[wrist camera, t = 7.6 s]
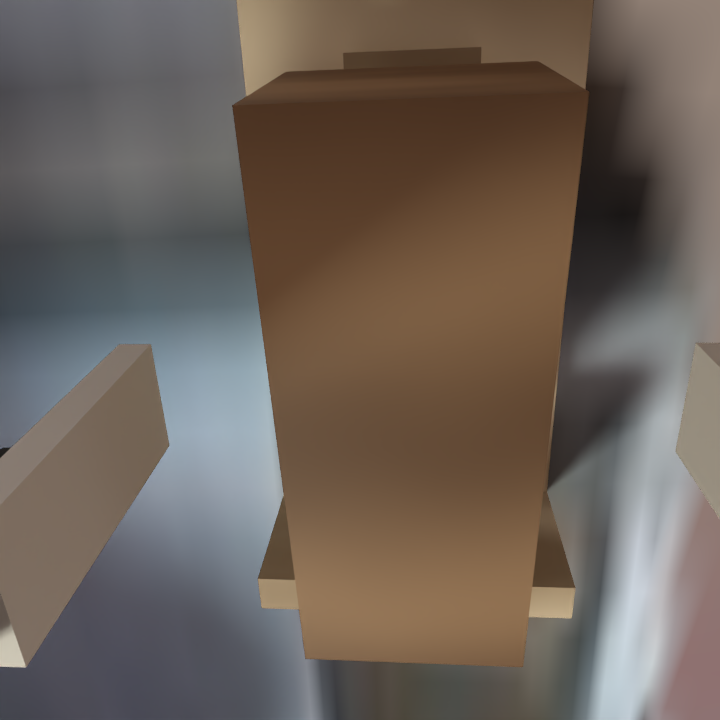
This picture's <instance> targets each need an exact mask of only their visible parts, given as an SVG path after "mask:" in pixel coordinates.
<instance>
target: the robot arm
mask: <svg viewBox="0 0 720 720" xmlns="http://www.w3.org/2000/svg"><path fill="white" fill-rule="evenodd" d="M168 447H169V441H168V435H167V430H166V424H165V419H164V414H163V408H162V403H161V397H160V392H159V386H158V381H157V376H156V370H155V365H154V359H153V354H152V348H151V344H119V345H118V346H117V347H116V348H115V349H114V350H113V351H112V352H111V353H110V354H109V355H108V356H106V357H105V358H104V359H103V360H102V361H101V362H100V363H99V364H98V365H97V366H96V367H95V368H94V369H93V370H92V371H91V372H90V373H89V374H88V375H87V376H86V377H85V378H83V379H82V380H81V381H80V382H79V383H78V384H77V385H76V386H75V387H74V388H73V389H72V390H71V391H70V392H69V393H68V394H67V395H66V396H65V397H64V398H63V399H61V400H60V401H59V402H58V403H57V404H56V405H55V406H54V407H53V408H52V409H51V410H50V411H49V412H48V413H47V414H46V415H45V416H44V417H43V418H42V419H41V420H40V421H38V422H37V423H36V424H35V425H34V426H33V427H32V428H31V429H30V430H29V431H28V432H27V433H26V434H25V435H24V436H23V437H22V438H21V439H20V440H19V441H18V442H17V443H15V444H14V445H13V446H12V447H11V448H2V449H0V666H1V667H24V668H26V667H27V666H28V664H29V663H30V661H31V660H32V658H33V656H34V655H35V653H36V652H37V650H38V649H39V647H40V646H41V644H42V642H43V641H44V639H45V638H46V636H47V635H48V633H49V632H50V630H51V628H52V627H53V625H54V624H55V622H56V621H57V619H58V618H59V616H60V614H61V613H62V611H63V610H64V608H65V607H66V605H67V604H68V602H69V601H70V599H71V597H72V596H73V594H74V593H75V591H76V590H77V588H78V587H79V585H80V583H81V582H82V580H83V579H84V577H85V576H86V574H87V573H88V571H89V569H90V568H91V566H92V565H93V563H94V562H95V560H96V559H97V557H98V556H99V554H100V552H101V551H102V549H103V548H104V546H105V545H106V543H107V542H108V540H109V538H110V537H111V535H112V534H113V532H114V531H115V529H116V528H117V526H118V524H119V523H120V521H121V520H122V518H123V517H124V515H125V514H126V512H127V510H128V509H129V507H130V506H131V504H132V503H133V501H134V500H135V498H136V497H137V495H138V493H139V492H140V490H141V489H142V487H143V486H144V484H145V483H146V481H147V479H148V478H149V476H150V475H151V473H152V472H153V470H154V469H155V467H156V465H157V464H158V462H159V461H160V459H161V458H162V456H163V455H164V453H165V452H166V450H167V448H168ZM676 453H677V454H678V456H679V457H680V459H681V460H682V462H683V464H684V465H685V467H686V468H687V470H688V471H689V473H690V474H691V476H692V477H693V479H694V480H695V482H696V484H697V485H698V487H699V488H700V490H701V491H702V493H703V494H704V496H705V497H706V499H707V500H708V502H709V503H710V505H711V507H712V508H713V510H714V511H715V513H716V514H717V516H718V517H719V519H720V343H696V345H695V351H694V356H693V361H692V366H691V372H690V377H689V382H688V388H687V393H686V398H685V404H684V409H683V414H682V420H681V425H680V430H679V436H678V441H677V446H676Z"/></svg>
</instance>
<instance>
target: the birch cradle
mask: <svg viewBox="0 0 720 720" xmlns="http://www.w3.org/2000/svg"><path fill="white" fill-rule="evenodd" d="M593 4H594V0H237V10H238V20H239V29H240V39H241V49H242V59H243V69H244V79H245V89H246V96H248V95H250V94H251V93H253V92H254V91H256V90H258V89H259V88H261V87H262V86H264V85H266V84H267V83H269V82H270V81H272V80H274V79H275V78H277V77H278V76H280V75H282V74H283V73H285V72H289V71H312V70H336V69H360V68H383V67H407V66H431V65H455V64H478V63H502V62H526V61H539V62H541V63H542V64H544V65H546V66H547V67H549V68H551V69H552V70H554V71H556V72H557V73H559V74H561V75H562V76H564V77H565V78H567V79H569V80H570V81H572V82H574V83H575V84H577V85H579V86H580V87H582V88H584V89H585V88H586V77H587V67H588V56H589V46H590V35H591V25H592V15H593ZM563 317H564V316H563ZM562 328H563V324H562ZM561 338H562V333H561ZM560 349H561V341H560ZM559 359H560V350H559ZM559 359H558V367H557V376H556V385H555V393H554V402H553V411H552V419H551V428H550V437H549V445H548V454H547V463H546V471H545V480H544V489H543V497H542V506H541V515H540V523H539V532H538V541H537V549H536V558H535V567H534V575H533V584H532V593H531V601H530V610H529V617H547V618H572V611H573V603H574V595H575V585H574V582H573V578H572V575H571V572H570V568H569V565H568V562H567V558H566V555H565V551H564V548H563V545H562V541H561V538H560V535H559V531H558V528H557V524H556V521H555V518H554V514H553V511H552V508H551V504H550V501H549V497H548V494H547V485H548V474H549V464H550V453H551V443H552V432H553V422H554V411H555V401H556V391H557V380H558V370H559ZM258 584H259V591H260V599H261V607H262V608H272V609H299V606H298V598H297V591H296V583H295V575H294V568H293V560H292V553H291V545H290V538H289V530H288V523H287V515H286V507H285V500H284V496H283V499H282V502H281V505H280V509H279V512H278V515H277V518H276V522H275V525H274V528H273V531H272V535H271V538H270V541H269V544H268V548H267V551H266V554H265V557H264V561H263V564H262V567H261V570H260V574H259V577H258Z"/></svg>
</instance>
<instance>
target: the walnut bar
mask: <svg viewBox="0 0 720 720" xmlns="http://www.w3.org/2000/svg"><path fill="white" fill-rule="evenodd" d="M588 99H589V91H587V90H585V89H584V88H582V87H580V86H579V85H577V84H575V83H574V82H572V81H570V80H569V79H567V78H565V77H564V76H562V75H561V74H559V73H557V72H556V71H554V70H552V69H551V68H549V67H547V66H546V65H544V64H542V63H541V62H539V61H526V62H502V63H478V64H455V65H431V66H407V67H383V68H360V69H336V70H312V71H289V72H285V73H283V74H282V75H280V76H278V77H277V78H275V79H274V80H272V81H270V82H269V83H267V84H266V85H264V86H262V87H261V88H259V89H258V90H256V91H254V92H253V93H251V94H250V95H248V96H246V97H245V98H243V99H242V100H240V101H238V102H237V103H235V104H234V105H232V107H233V114H234V122H235V129H236V137H237V144H238V152H239V160H240V167H241V175H242V182H243V190H244V197H245V205H246V213H247V220H248V228H249V235H250V243H251V250H252V258H253V265H254V273H255V281H256V288H257V296H258V303H259V311H260V318H261V326H262V334H263V341H264V349H265V356H266V364H267V371H268V379H269V386H270V394H271V402H272V409H273V417H274V424H275V432H276V439H277V447H278V454H279V462H280V470H281V477H282V485H283V492H284V500H285V507H286V515H287V523H288V530H289V538H290V545H291V553H292V560H293V568H294V575H295V583H296V591H297V598H298V606H299V613H300V621H301V628H302V636H303V644H304V651H305V659H325V660H351V661H377V662H403V663H429V664H455V665H481V666H507V667H523V662H524V653H525V644H526V636H527V627H528V618H529V610H530V601H531V593H532V584H533V575H534V567H535V558H536V549H537V541H538V532H539V523H540V515H541V506H542V497H543V489H544V480H545V471H546V463H547V454H548V445H549V437H550V428H551V419H552V411H553V402H554V393H555V385H556V376H557V367H558V359H559V350H560V341H561V333H562V324H563V316H564V307H565V298H566V290H567V281H568V272H569V264H570V255H571V246H572V238H573V229H574V220H575V212H576V203H577V194H578V186H579V177H580V168H581V160H582V151H583V142H584V134H585V125H586V116H587V108H588Z"/></svg>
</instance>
